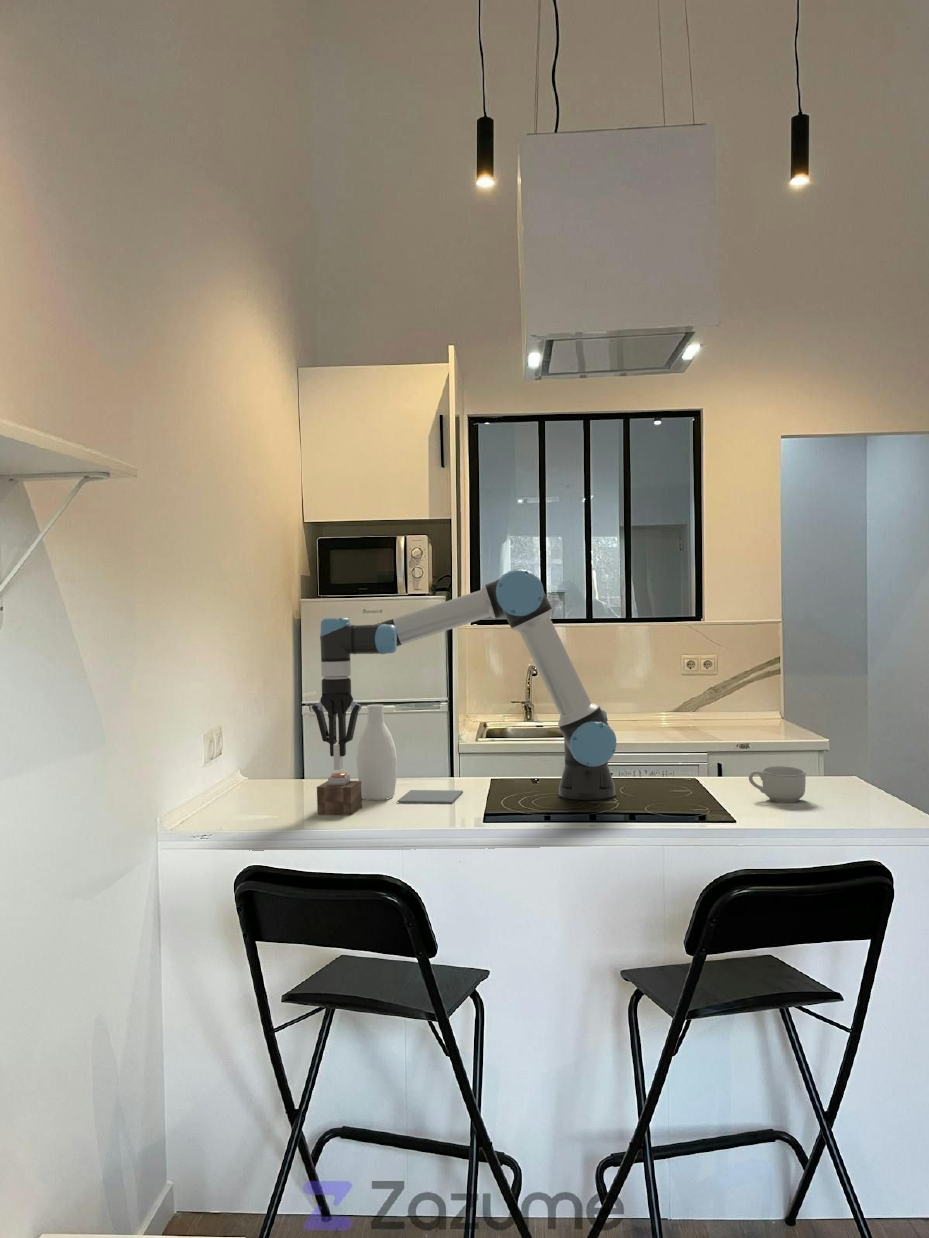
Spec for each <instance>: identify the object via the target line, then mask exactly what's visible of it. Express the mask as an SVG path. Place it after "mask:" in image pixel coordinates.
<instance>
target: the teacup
mask: <svg viewBox="0 0 929 1238" xmlns="http://www.w3.org/2000/svg"><path fill="white" fill-rule="evenodd" d="M755 775H758V776H759V777H760V780H761V781H762V785H759V784H757V783H756V782H755V780H754V779H753V777H754V776H755ZM806 775H807V770H805V769H802V768H800V767H797V766H795V767H794V766H788V765H786V766H785V765H779V766H777V765H773V766H767V767H764V768H762V770H761V771H760V770H756V769H754V770H752V771H750V773H749V774H748V780H749V783H750V785H752V786H753V787H754V788H756V789H758V790H759V792H760V793H761V794H764V795H765V796H767V798H769V800H770V801H772V802H776V803H783V804H791V803H796V802H798V801H799V800H800V799H801V798H802V797H804V795H805V792H806Z"/></svg>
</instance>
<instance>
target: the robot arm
mask: <svg viewBox="0 0 929 1238" xmlns="http://www.w3.org/2000/svg"><path fill="white" fill-rule="evenodd" d="M552 607H553V606H552V605H551V603H550V601H549V598H548V597H547V595H546V593H545V591H544V585H543V583H542V581H541V579H540V578H539V577H538V576H537V574H535V573H534V572H532V571H531V570H528V569H525V568H514V569H512V570H509V571H507V572H505V573H503V575H502V576H501V577H500V578H499V579H497V580H494V581H492V582H489V583H486V584H483V586H482V588H481V589H480V590H477V591H473V592H471V593H467V594H465V595H461V596H458V597H455V598H453V599H449V600H446V601H444V602H440V603H436V604H434V605H430V606H428V607H425V608H421V609H418V610H415V611H413V612H410V613H406V614H404V615H400V616H398V617H394V618H392V619H388V620H385V621H382V622H378V623H374V624H358V625H356V624H355V625H354V624H351V622H350V619H349V618H348V617H329V618H328V617H327V618H326V617H325V618H323V619H322V620H321V621H320V635H319V638H320V661H321V662H320V664H321V665H320V668H321V673H320V674H321V677H322V679H321V697H320V700H319V701H318V702H317V703H316V704H313V705H312V706H311V709H312V710H313V712H314V713H315V717H316V719H317V723H318V728H319V732H320V735H321V739H322V741H323V742H326V743H328V744H329V755H330V757H333V770H334V771H340V770H342V769H343V768H344V765H343V762H344V761H343V757H345V756H346V754H347V743H349V742H351V741H352V740H354V735H355V731H356V730H355V729H356V725H357V720H358V715H359V713H360V711H361V709H362V704H360V703H357V702H355V701H354V698H353V696H352V679H351V678H350V676H351V674H352V672H351V666H352V665H351V655H378V654H379V655H386V654H393V653H396V651H397V647H400V646H403V645H405V644H409V643H411V642H415V641H418V640H421V639H424V638H425V639H426V638H427V637H430V636H433V635H436V634H440V633H442V632H446V631H450V630H453V629H455V628H458V627H462V626H465V625H468V624H471V623H474V622H477V621H480V620H483V619H486V618H489V617H490V618H492V619H494V620H495V619H499V618H502V617H505V619H506V620H507V622H508V625H509V626H510V628H511V630H513V631H515V632H516V631H517V632H518V633H519V634H520V636H521V638H522V640H523V641H524V644H525V646H526V648H527V650H528V653H529V655H530V657H531V658H532V660H533V662H534V664H535V666H536V668H537V671H538V673H539V675H540V677H541V679H542V681H543V683H544V685H545V687H546V689H547V691H548V693H549V696H550V697H551V700H552V701H553V704H554V706H555V708H556V710H557V712H558V714H559V716H560V717H559V720H558V724H557V725H558V728H559V729H560V731H561V734H562V736H563V739H564V741H563V743H564V744H563V745H564V746H563V747H564V769H563V772H562V775H561V778H560V782H559V786H558V795H559V797H561V798H564V799H570V800H575V801H576V800H578V801H593V800H594V801H597V800H604V799H610V798H613V797H614V796H616V786H615V785H616V784H615V782H614V780H613V777H612V774H611V771H610V768H609V761H610V760H611V759H612V757H613V756H614V755H615V753H616V749H617V737H616V734H615V732H614V730H613V729H612V728H611V727H610V725H609V723H608V720H609V719H608V716H607V712H606V710H604V709H601V706H600V705H599V704H597V703H593V702H592V701H591V700H590V698H589V696H588V694H587V691H586V689H585V687H584V685H583V683H582V681H581V678H580V676H579V674H578V673H577V671H576V668H575V667H574V664H573V662H572V660H571V658H570V656H569V654H568V652H567V650H566V648H565V646H564V644H563V642H562V640H561V638H560V636H559V633H558V630H557V629H556V627H555V625H554V623H553V621H552V619H551V615H552V613H553V608H552ZM350 706H351V707H350ZM349 708H350V710H351V712H350V717H349V721H348V724H347V722H346V721H347V719H346V716H347V711H348V710H349ZM324 709H325V711H326V712H327V718H328V725H327V721H326V718H325V713H324V711H323V710H324ZM337 722H338V723H337ZM337 725H338V728H337ZM347 725H348V726H347ZM337 729H338V739H337Z"/></svg>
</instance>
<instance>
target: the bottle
mask: <svg viewBox="0 0 929 1238" xmlns="http://www.w3.org/2000/svg"><path fill="white" fill-rule="evenodd" d="M366 707H367V723H366V725H365V727H364V729H363V731H362V733H361V735H360V737H359V740H358V745H357V750H356V752H357V753H356V766H357V767H356V769H357V770H356V771H357V781H361V794H362V799H363V800H367V801H385V800H384V799H386V800H388V799H387V798H390V797H392V798H394V796H395V794H396V784H397V777H398V775H397V773H398V755H397V749H396V744H395V741H394V739H393V736H392V733H391V732H390V730H389V728H388V727H387V725H386V723H385V717H384V704H374V703H373V704H368V705H367V704H366ZM390 799H391V798H390Z"/></svg>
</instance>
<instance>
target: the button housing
mask: <svg viewBox="0 0 929 1238" xmlns="http://www.w3.org/2000/svg"><path fill="white" fill-rule="evenodd" d="M362 799H363V798H362V794H361V781H359V780H350V783H349V784H348V785H346V786H328V780H326V781H325V782H323V783H321V784H319V785H318V786H317V787H316V805H317V806H316V808H317V811H316V812H317V815H319V816H320V814H322V815H326V814H327V816H331V814H334V815H333V816H336V815H337V816H352V815H354V814H355V813H356V812H358V811H359V810H360V809H362V808H363V800H362ZM328 814H330V815H328Z"/></svg>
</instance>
